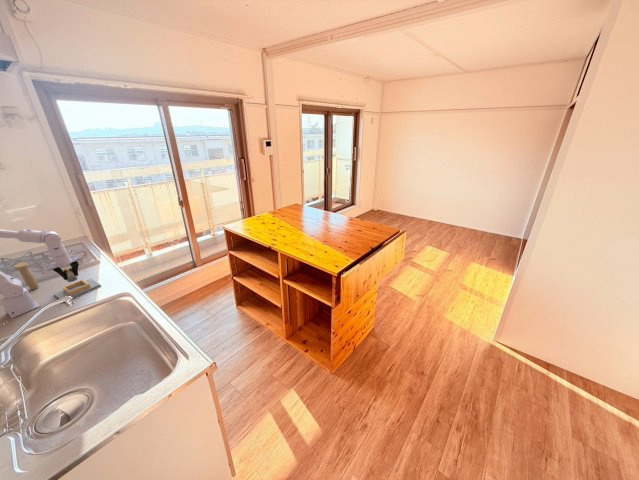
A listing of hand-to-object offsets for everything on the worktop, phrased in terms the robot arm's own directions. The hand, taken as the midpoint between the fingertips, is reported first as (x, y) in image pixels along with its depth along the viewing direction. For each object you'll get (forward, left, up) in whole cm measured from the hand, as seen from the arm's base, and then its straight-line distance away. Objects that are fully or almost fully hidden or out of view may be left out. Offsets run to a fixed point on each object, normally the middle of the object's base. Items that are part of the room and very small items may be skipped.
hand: (71, 277), depth 131 cm
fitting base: (0, 0, -8) cm, 8 cm away
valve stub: (0, 0, -2) cm, 2 cm away
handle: (-11, +24, -9) cm, 27 cm away
